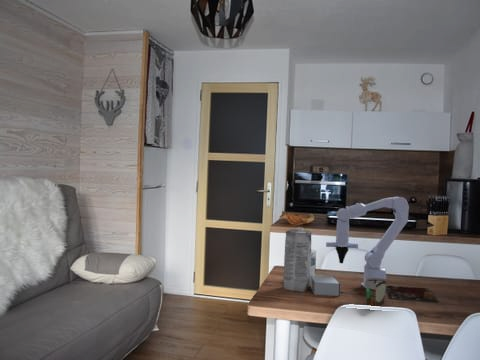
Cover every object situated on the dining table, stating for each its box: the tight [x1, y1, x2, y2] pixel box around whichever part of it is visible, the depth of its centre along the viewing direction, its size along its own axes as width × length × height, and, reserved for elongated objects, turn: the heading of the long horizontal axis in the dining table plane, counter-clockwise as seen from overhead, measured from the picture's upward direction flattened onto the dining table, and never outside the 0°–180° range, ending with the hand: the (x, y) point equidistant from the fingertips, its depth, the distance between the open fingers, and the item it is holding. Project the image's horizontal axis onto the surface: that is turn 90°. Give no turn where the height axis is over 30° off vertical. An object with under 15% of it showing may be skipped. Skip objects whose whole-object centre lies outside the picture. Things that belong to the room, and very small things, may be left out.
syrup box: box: [309, 249, 317, 283], centre depth 198 cm, size 6×6×14 cm
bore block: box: [309, 274, 341, 297], centre depth 179 cm, size 10×14×5 cm
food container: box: [365, 278, 388, 307], centre depth 161 cm, size 12×6×10 cm, turn 141°
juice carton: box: [283, 227, 312, 293], centre depth 180 cm, size 9×10×27 cm
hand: (341, 262), depth 193 cm, fingers closed
